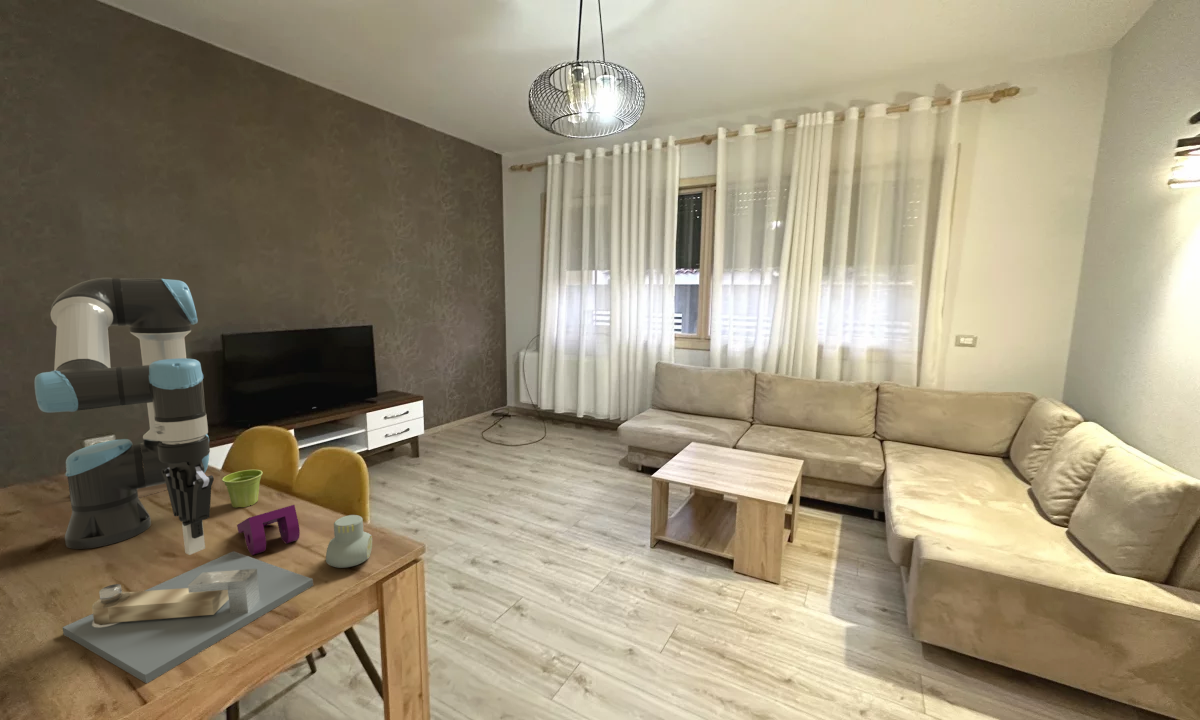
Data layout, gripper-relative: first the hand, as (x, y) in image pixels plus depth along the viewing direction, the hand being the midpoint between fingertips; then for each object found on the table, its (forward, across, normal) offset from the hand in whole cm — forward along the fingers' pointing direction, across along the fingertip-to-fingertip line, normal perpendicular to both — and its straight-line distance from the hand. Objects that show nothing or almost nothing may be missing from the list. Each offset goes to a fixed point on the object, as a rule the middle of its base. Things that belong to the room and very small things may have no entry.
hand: (195, 550), depth 96 cm
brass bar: (+7, +3, -8) cm, 11 cm away
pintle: (+8, -4, -12) cm, 15 cm away
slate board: (+10, +5, -3) cm, 11 cm away
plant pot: (+11, -37, +30) cm, 49 cm away
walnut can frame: (+12, -79, +23) cm, 83 cm away
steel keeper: (+8, +12, -2) cm, 15 cm away
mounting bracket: (+11, -11, +20) cm, 25 cm away
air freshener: (+10, +17, +21) cm, 29 cm away
